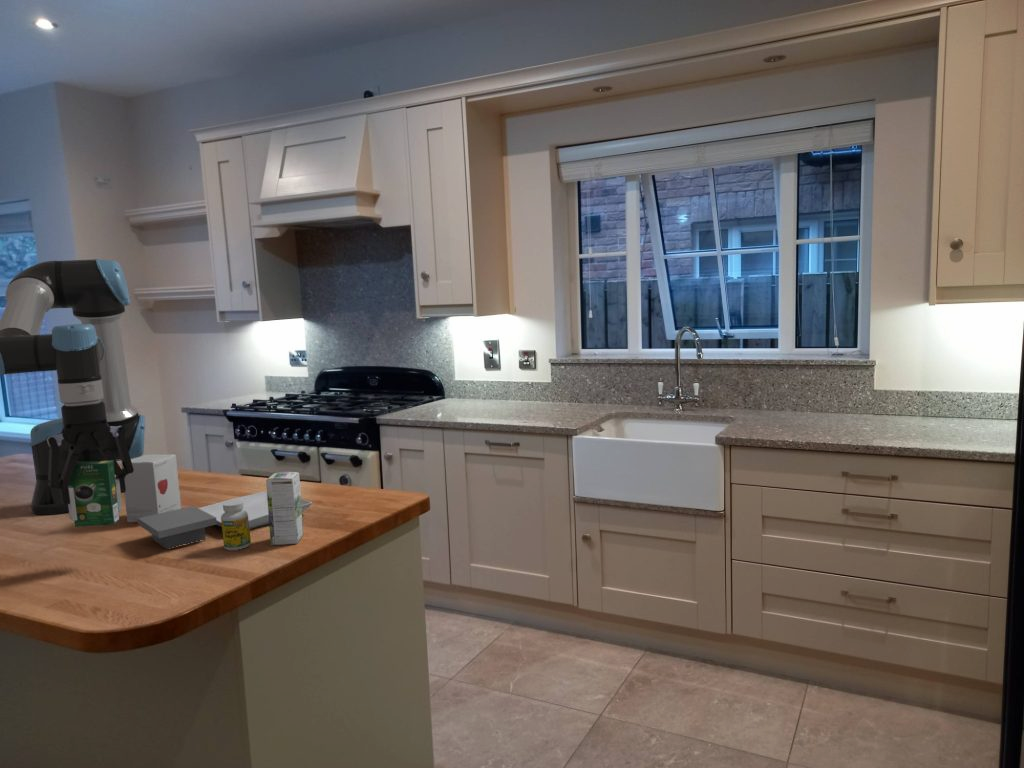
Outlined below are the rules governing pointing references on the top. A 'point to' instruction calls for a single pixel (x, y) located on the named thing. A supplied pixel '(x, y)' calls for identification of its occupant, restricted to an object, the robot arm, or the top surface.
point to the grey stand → (178, 526)
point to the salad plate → (249, 509)
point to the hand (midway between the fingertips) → (96, 513)
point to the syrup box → (284, 508)
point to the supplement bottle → (235, 526)
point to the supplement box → (152, 486)
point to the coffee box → (95, 493)
